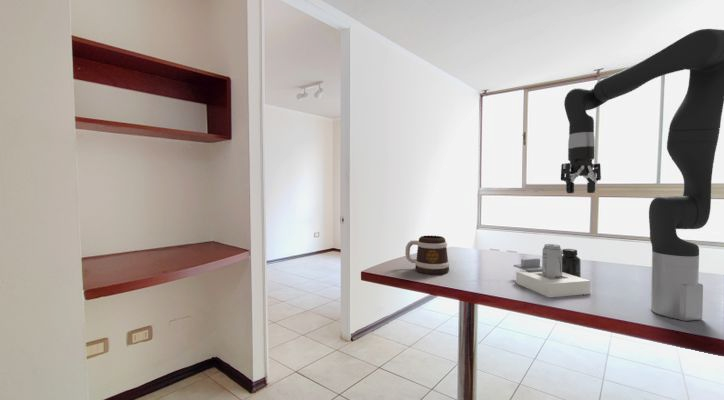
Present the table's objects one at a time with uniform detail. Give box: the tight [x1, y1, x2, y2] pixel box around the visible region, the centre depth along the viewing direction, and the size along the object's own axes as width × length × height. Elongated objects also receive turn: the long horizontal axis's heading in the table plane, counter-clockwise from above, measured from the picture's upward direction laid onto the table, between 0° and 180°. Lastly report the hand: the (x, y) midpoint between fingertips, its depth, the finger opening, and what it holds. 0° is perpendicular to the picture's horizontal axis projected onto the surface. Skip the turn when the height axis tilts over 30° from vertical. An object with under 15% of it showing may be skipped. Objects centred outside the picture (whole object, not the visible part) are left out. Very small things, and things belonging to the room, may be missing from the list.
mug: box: [404, 235, 451, 276], centre depth 137 cm, size 20×15×15 cm
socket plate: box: [515, 270, 591, 298], centre depth 110 cm, size 16×16×4 cm
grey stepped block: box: [513, 257, 542, 272], centre depth 119 cm, size 8×8×4 cm
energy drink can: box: [541, 243, 563, 279], centre depth 110 cm, size 6×6×15 cm
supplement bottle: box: [562, 248, 582, 278], centre depth 119 cm, size 7×7×12 cm
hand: (580, 193), depth 108 cm, fingers open, 8 cm apart
